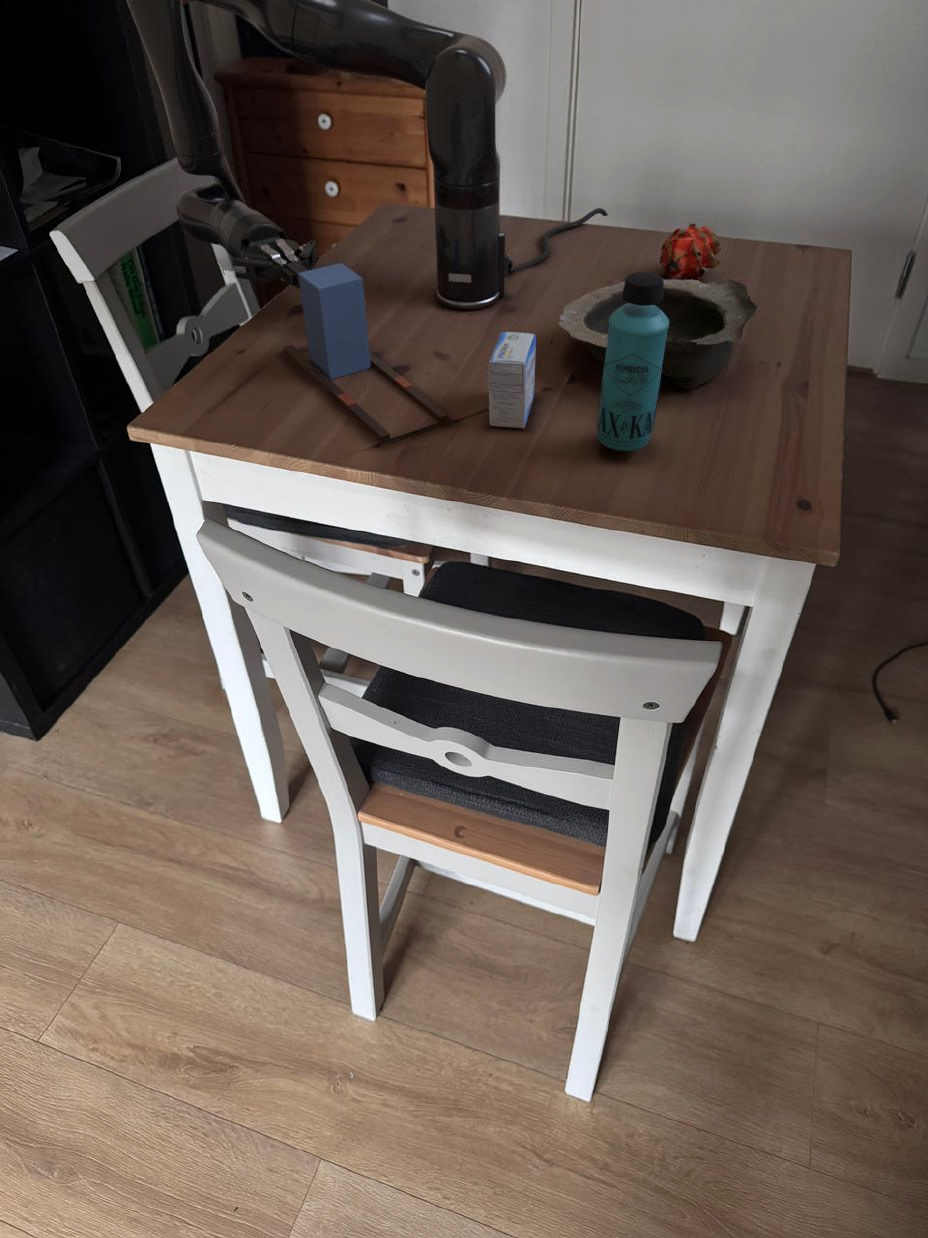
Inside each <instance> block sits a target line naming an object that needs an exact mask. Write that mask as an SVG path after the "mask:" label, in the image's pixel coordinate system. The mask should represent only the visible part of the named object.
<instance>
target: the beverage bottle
mask: <svg viewBox="0 0 928 1238" xmlns="http://www.w3.org/2000/svg"><path fill="white" fill-rule="evenodd" d="M663 279H664V278H663V277H662V276H661V275H660V274H657V273H654V272H648V271H639V272H633V273H630V274H627V276H626V277H625V279H624V282H625V284H624V289H623V294H622V298H623V299H624V300H625V301H626V302H628V303H627V304H625V305H623V306H621V307H620V308H618V309H617V310H616V311H614V312H613V313H612V314H611V316H610V317H609V330H608V339H607V348H606V356H605V362H603V363H604V364H603V366H602V369H603V371H602V372H603V373H602V376H601V377H600V379H601V383H600V387H599V391H600V393H599V398H598V399H599V402H598V404H597V411H598V412H597V414H596V415H597V421H596V422H595V424H596V427H595V431H596V435H597V439H598V442H600V443H601V444H602V445H604V446H605V447H607V448H609V449H611V450H616V451H622V452H629V451H630V452H631V451H636V450H640V449H642V448H644V447H646V446H647V445H648V444H649V442H650V440H651V439H652V438H653V436H652V435H653V432H654V430H655V426H656V425H655V424H656V423H655V421H656V417H657V410H658V404H659V401H658V399H659V395H660V392H661V386H662V383H661V380H662V379H661V378H662V374H663V371H662V363H663V357H664V350H665V344H666V337H667V331H668V327H669V320H668V318H667V316H666V315H665V314H664V313H663V312H662V311H661V310H660V309H659V308H658V307H657V306H655V304H658V303H660V302H661V301H662V300H663V286H664V281H663Z"/></svg>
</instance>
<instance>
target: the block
mask: <svg viewBox="0 0 928 1238" xmlns="http://www.w3.org/2000/svg"><path fill="white" fill-rule="evenodd" d="M298 276H299V284H300V288H299V290H300V297H301V305H302V311H303V318H304V325H305V333H306V339H307V340H306V341H307V347H308V355H309V361H310V362H311V363H312V364H313V365H314V366H316V367H317V368H318V369H319V370H320V371H321V372H322V373H323V374H324V375H326V376H327V377H328V378H329V379H330V380H331V381H332V380H335V379H339V378H342V377H345V376H348V375H352V374H356V373H359V372H363V371H366V370H370V369H371V368H372V366H371V364H370V353H369V351H370V343H369V333H368V322H367V313H366V301H365V289H364V279H363V277H361V275H359V274H358V273H356V272H355V271H353V270H352V269H351V268H349V267H348V266H347V265H345V264H343V263H342V262H338V263H335V264H330V265H326V266H322V267H318V268H313V269H312V270H309V271H305V272H301V273H298Z"/></svg>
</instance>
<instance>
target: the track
mask: <svg viewBox="0 0 928 1238" xmlns="http://www.w3.org/2000/svg"><path fill="white" fill-rule="evenodd" d="M283 352H284V354H286V355H287V356H288V357H289V358H290V359H291V360H292V361H294V363H295V364H297V365H298V366H299V367H300V368H301V369H302V370H303V371H304V372H305V373H306V374H307V375H308V376H310V377H311V378H312V379H313V380H314V381H315V383H317V384H318V385H319V386H321V387H322V389H323V390H325V391H326V393H328V394H329V396H330V395H331V397H332V398H333V399H334V400H335V401H337V402H338V403H339V404H340V405H341V406H342V407H343V408H344V409H345V410H346V411H347V412H348V413H350V414H351V415H352V416H353V417H354V418H355V419H356V420H357V421H358V422H359V423H360V424H361V425H362V426H364V427H365V429H366V430H368V431H369V432H370V433H371V434H372V435H373V436H374V437H375V438H376V439H378V441H380V442H378V443H376V444H375V445H376V446H377V447H378V448H380V447H384V446H386V445H389V444H393V443H395V442H399V441H402V440H404V439H407V438H410V437H413V436H417V435H419V434H422V433H425V432H428V431H431V430H434V429H437V428H440V427H443V426H446V425H449V424H451V423H452V420H451V419H449V413H447V412H446V411H445V410H443V409H442V408H441V407H440V406H439V405H437V404H436V403H435V402H434V401H432V400H431V399H430V398H429V397H428V396H427V395H425V394H424V393H423V392H421V391H420V390H419V389H418V388H416V387H415V386H414V385H413V383H411V382H410V381H409V380H408V379H406V378H405V377H404V376H402V375H400V374H399V373H398V372H397V371H395V370H394V369H393V368H391V367H390V366H389V365H388V364H386V363H385V362H384V361H383V360H381V358H379V356H377V355H376V354H374V353H373V352H371V350H369V353H370V364H371V368H373V369H374V370H376V371H377V372H378V373H379V374H381V376H383V377H384V378H386V380H388V381H389V382H390V383H391V384H392V385H394V386H395V387H396V388H397V389H398V390H400V391H401V392H403V393H404V394H405V395H406V396H407V397H408V398H410V399H411V400H412V401H413V402H414V403H415V404H417V405H418V407H421V408H422V409H423V410H424V411H425V412H427V414H428V415H430V416H432V417H433V419H435V420H436V421H438V423H434V424H431V425H428V426H426V427H423V428H420V429H417V430H414V431H410V432H408V433H405V434H402V435H399V436H395V437H393V438H391V433H390V432H389V431H388V430H387V429H386V428H384V426H382V425H381V424H380V423H379V422H378V421H377V420H376V419H375V418H374V417H372V416H371V415H370V414H369V413H368V412H367V411H365V410H364V409H363V408H362V407H361V406H360V404H358V403H357V402H356V400H355V399H353V398H352V397H351V396H350V395H349V394H348V393H346V392H345V391H344V390H343V389H341V388H340V387H339V386H338V385H337V384H336V383H334V382H333V381H332V380H330V379H329V378H328V377H327V376H326V375H324V374H323V373H322V372H321V371H320V370H319V369H318V368H317V367H316V366H314V365H313V364H312V363H311V362H310V359H308V358H307V357H305V355H303V353H301V352H300V351H299V350H298V349H297V348H296V347H294V346H293V345H292V344H288V345H285V346H283Z"/></svg>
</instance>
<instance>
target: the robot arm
mask: <svg viewBox="0 0 928 1238" xmlns="http://www.w3.org/2000/svg"><path fill="white" fill-rule="evenodd" d="M190 2H196V3H201V4H205V5H208V6H212V7H216V8H218V9H221V10H224V11H227V12H230V13H232V14H234V15H237V16H238V17H241V18H242V19H244V20H245V21H247V22H248V23H249V24H251V25H252V26H253V27H254V28H255V29H256V30H257V31H258V32H260V34H261V35H263V36H264V37H265V38H266V39H267V40H268V41H269V42H270V43H272V44H273V45H274V46H275V47H276V48H278V49H280V51H282V52H284V53H286V54H288V55H290V56H292V57H293V58H294V57H295V58H296V59H299V60H302V61H305V62H307V63H310V64H313V65H315V66H317V67H320V68H324V69H326V70H329V71H334V72H337V73H344V74H349V75H356V76H364V77H375V78H383V79H384V78H385V79H391V80H396V81H399V82H403V83H405V84H409V85H411V86H414V87H416V88H418V89H419V90H420V89H421V90H423V91H425V114H426V128H427V129H426V131H427V132H426V133H427V144H428V153H429V158H430V160H431V163H432V168H433V169H432V171H433V194H434V195H433V196H434V222H435V252H436V278H437V283H436V284H437V285H436V286H437V288H436V289H437V290H436V296H437V297H436V298H437V301H438V302H439V303H440V304H441V305H443V306H445V307H446V308H447V307H448V308H450V309H455V310H465V311H467V310H468V311H469V310H479V309H484V308H489V307H491V306H493V305H494V304H496V303H497V302H499V300H500V299H503V298H504V297H505V279H506V278H509V274H513V273H515V272H519V271H521V270H525V269H528V268H532V267H534V266H536V265H537V264H539V263H541V262H543V261H544V260H545V259H546V258H547V257H549V254H550V252H551V249H550V245H549V242H548V238H549V237H551V236H553V235H554V234H556V233H559V232H563V231H566V230H569V229H572V228H575V227H578V226H581V225H583V224H584V223H586V222H587V221H589V220H590V219H591V218H593V217H594V216H595V215H597V214H599V215H602V216H603V217H607V216H609V214H608V212H607V211H606V210H605V209H604V208H601V207H597V208H594V209H592V210H591V211H590V212H588V213H587V214H585V215H584V216H582V217H581V218H580V219H578V220H574V221H572V222H568V223H565V224H561V225H558V226H556V227H553V228H550V229H549V230H548V231H546V232H545V233H544V234H543V235H542V237H541V244H542V247H543V249H544V251H543V252H542V253H541V254H540V255H539V256H537V257H536V258H533V259H532V260H530V261H528V262H526V263H524V264H521V265H518V266H513V265H514V261H513V260H512V258H510V257H509V256H508V255H506V234H505V232H504V231H503V230H501V229H500V219H501V218H500V217H501V216H500V209H501V208H500V207H501V206H500V205H501V204H500V203H501V199H500V197H501V156H500V154H499V152H498V149H497V141H496V140H497V138H496V136H497V135H496V130H497V129H496V105H497V104H498V103H499V100H500V99H501V98H502V96H503V94H504V92H505V88H506V84H507V69H506V65H505V61H504V60H503V58H502V57H503V56H501V54H500V52H499V51H498V50H497V49H496V47H494V45H492V43H490V42H489V41H488V40H486V39H484V38H482V37H479V36H477V35H472V34H468V33H464V32H460V31H455V30H452V29H448V28H443V27H439V26H435V25H431V24H428V23H424V22H421V21H417V20H415V19H412V18H409V17H407V16H404V15H403V14H400V13H398V12H396V11H394V10H392V9H391V8H387V7H386V6H383V5H381V4H378V3H377V2H375V1H372V0H126V3H127V6H128V8H129V11H130V13H131V16H132V18H133V21H134V24H135V26H136V28H137V31H138V33H139V36H140V39H141V43H142V45H143V47H144V50H145V52H146V55H147V58H148V60H149V64H150V65H151V68H152V71H153V75H154V76H155V80H156V82H157V85H158V87H159V91H160V94H161V96H162V101H163V104H164V108H165V113H166V116H167V120H168V124H169V125H168V126H169V129H170V134H171V137H172V141H173V145H174V146H173V147H174V151H175V155H176V158H177V162H178V165H179V167H180V169H181V170H182V171H183V172H185V173H186V174H189V175H192V176H202V177H204V176H205V177H214V181H213V182H209V183H206V184H202V185H198V186H194V187H190V188H187V189H185V190H184V191H182V192H181V193H180V195H178V198H177V201H176V213H177V217H178V220H179V222H180V224H181V225H182V227H183V229H184V230H185V231H186V232H187V233H188V234H189V235H190V236H191V237H193V238H194V239H196V240H198V241H201V242H204V243H208V244H212V245H215V246H221V247H222V248H223V249H224V250H225V251H226V252H227V254H228V255H229V256H230V257H231V258H232V264H233V268H234V274H235V278H236V279H240V280H249V281H255V282H262V283H270V284H272V283H275V282H276V280H279V281H280V282H286V283H287V284H288V285H290V286H293V287H295V288H297V289H300V284H299V276H298V273H301V272H305V271H309V270H313V269H315V266H316V264H317V262H318V261H319V255H318V246H317V242H316V241H315V240H309V241H307V243H305V244H302V245H299V243H298V242H297V241H294V240H291V239H289V237H288V236H287V235H286V233H285V232H284V230H283V229H282V228H281V227H280V226H278V225H277V224H276V223H275V222H273V221H272V220H270V219H269V218H267V217H266V216H265V215H263V214H262V213H261V212H259V211H257V210H255V209H252V208H251V207H249V206H248V204H247V200H246V199H245V196H244V194H243V192H242V190H241V188H240V186H239V184H238V183H237V181H236V178H235V176H234V174H233V172H232V169H231V167H230V164H229V161H228V158H227V155H226V152H225V146H224V143H223V136H222V131H221V128H220V122H219V121H220V120H219V117H218V113H217V109H216V106H215V102H214V101H213V98H212V95H211V94H210V92H209V90H208V88H207V86H206V85H205V83H204V81H203V79H202V78H201V76H200V74H199V72H198V71H197V69H196V67H195V64H194V63H193V60H192V57H191V54H190V51H189V47H188V45H187V41H186V35H185V28H184V18H183V7H184V6H185V5H187V4H188V3H190ZM574 224H577V225H574Z"/></svg>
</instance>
